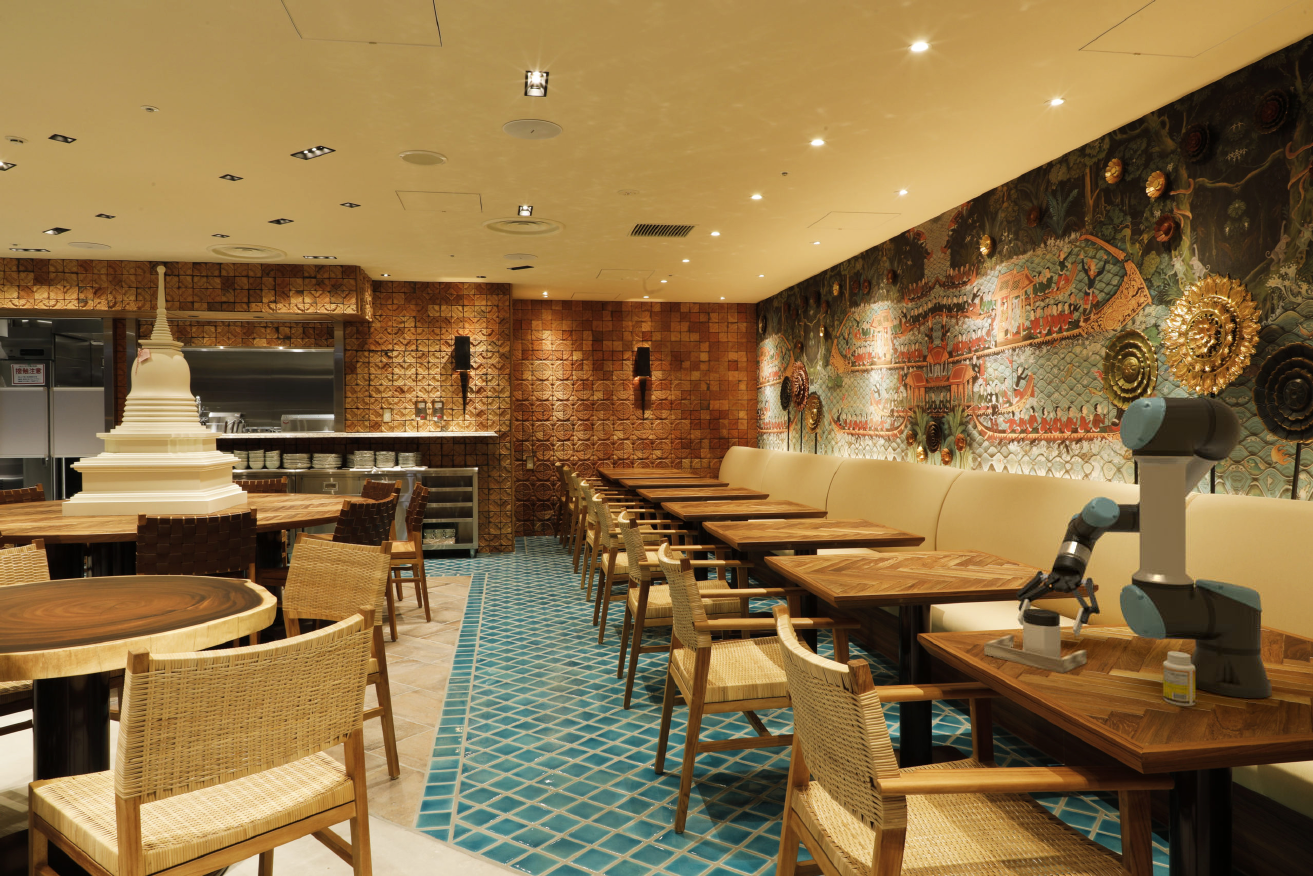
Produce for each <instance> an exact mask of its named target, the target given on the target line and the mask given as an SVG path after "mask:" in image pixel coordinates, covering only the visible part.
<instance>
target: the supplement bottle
mask: <svg viewBox="0 0 1313 876" xmlns="http://www.w3.org/2000/svg"><path fill="white" fill-rule="evenodd" d="M1166 657H1167V659H1166V660H1165V661H1163V664H1162V679H1163V680H1162V683H1163V684H1162V686H1163V687H1162V691H1163V692H1162V694H1163V699H1164V701H1165V702H1167V703H1168V704H1172V705H1174V706H1179V707H1180V706H1181V707H1192V706H1194V705H1196V703H1197V702H1196V700H1197V699H1196V687H1195V666H1194V665H1193V664H1191V658H1192V655H1190V654H1188V653H1186V652H1182V651H1175V650H1174V651H1168V652H1167V656H1166Z"/></svg>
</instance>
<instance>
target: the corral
mask: <svg viewBox="0 0 1313 876" xmlns="http://www.w3.org/2000/svg"><path fill="white" fill-rule="evenodd" d="M1014 637H1015V636H1014V635H1012V634H1008V635H1005V636H1002V637H999V638H997V639H993V640H989V641H986V642H984V646H983V647H984V651H983V652H984V653H983V654H984V656H987V655H988V657H991V656H993V657H992V658H996V659H1000V660H1005V661H1009V662H1013V663H1017V664H1022V665H1026V666H1030V667H1034V668H1039V669H1043V670H1048V671H1052V672H1056V673H1061V674H1064V673H1067V672H1069V671H1071V670H1073V669H1075V668H1078V667H1080V666H1082V665H1084V664H1086V663H1087V650H1086V649H1081V650H1078V651H1075V652H1073V653H1071V654H1068V655H1066V656H1064V657H1060V659H1059V658H1054V657H1050V656H1045V655H1041V654H1036V653H1032V652H1027V651H1023V649H1022V650H1021V649H1016V648H1014ZM1011 647H1012V648H1011Z"/></svg>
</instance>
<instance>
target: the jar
mask: <svg viewBox="0 0 1313 876" xmlns="http://www.w3.org/2000/svg"><path fill="white" fill-rule="evenodd" d="M1023 618H1024V619H1023V625H1022V651H1027V652H1032V653H1036V654H1041V655H1045V656H1050V657H1054V658H1059V659H1061V632H1062V631H1061V630H1062V629H1061V628H1062V627H1061V613H1060V612H1058V611H1055V610H1050V609H1044V608H1030V609H1026V610H1024V614H1023Z"/></svg>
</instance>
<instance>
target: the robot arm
mask: <svg viewBox="0 0 1313 876" xmlns="http://www.w3.org/2000/svg"><path fill="white" fill-rule="evenodd" d="M1120 421H1121V422H1120V425H1119V436H1120V439H1121V443H1122V445H1123V446H1124V447H1125V448H1127V449H1129V450H1131V457H1132V459H1133V460H1135V461H1136V462H1137V464H1138V465H1139V501H1138V502H1137V503H1134V504H1133V503H1130V504H1129V503H1124V504H1123V503H1116V502H1115V501H1114V500H1113V499H1110V498H1108V497H1105V496H1097V497H1095V498H1092V499H1091V500H1090V501H1089V502H1088V503H1087V504H1085V505H1084V507H1083V509H1082V510H1081V511H1080V512H1078V513H1075V514H1074V515H1072V517H1071V519H1070V521H1069V522H1068V524H1067V529H1066V532H1065V535H1064V537H1063V540H1062V543H1061V545H1060V546H1059V550H1058V552H1057V554H1056V557H1055V560H1054V562H1053V565H1052V568H1051V572H1050V573H1049V574H1047V573H1044V572H1043V571H1042V570H1038V571H1037V573H1036V574H1035V576H1034V577H1033V578H1032V579H1031V580H1029V582H1027V583H1025V585H1024V586H1023V587H1022V588H1020V589H1019V590H1018V591H1017V592H1016V593H1015V595H1016V598H1017V599H1018V601H1019V605H1018V611H1019V614H1018V617H1017V621H1018V622H1019V625H1020V626H1023V619H1024V618H1023V614H1024V610H1026V609H1032V604H1031V603H1033V602H1034V601H1037V600H1038V599H1039V598H1041V597H1043V596H1045V595H1047V594H1051V593H1054V592H1057V593H1065V594H1070V593H1072V594H1073V596H1074V597H1075V598H1076V600H1077V602H1078V604H1079V605H1080V606H1081V607H1080V608H1079V609H1078V611H1077V612H1078V613H1077V616H1076V619H1075V621H1074V624H1073V627H1072V632H1073V634H1074V635H1075V636H1077V637H1079V636H1080V634H1081V631H1082V628H1083V625H1087V624H1088V623H1089V619H1090V616H1091V615H1092V614H1096V615H1099V614H1100V613H1101V610H1100V607H1099V605H1098V601H1097V597H1096V594H1095V591H1094V590H1095V583H1094V581H1093V578H1091V577H1087V578H1086V579H1085V578H1084V576H1085V573H1086V571H1087V567H1088V564H1089V561H1090V559H1091V556H1092V554H1093V553H1092V552H1093V551H1094V547H1095V545H1096V543H1097V542H1098V541H1099V540H1100V538H1102V536H1103V535H1104V534H1106V533H1129V534H1130V533H1132V534H1133V533H1134V534H1135V533H1137V534H1139V568H1138V570H1137V571H1136V572H1134V573H1133V574H1132V575H1131V583H1130V584H1127V585H1124V586H1123V587H1122V589H1121V592H1120V593H1119V604H1120V605H1119V606H1120V611H1121V614H1122V617H1123V619H1124V621H1125V623H1126V625H1127V627H1128V628H1129V629H1130V630H1131V631H1132V632H1133V633H1134V634H1135V635H1137V636H1139V637H1141V638H1145V639H1154V640H1155V639H1156V640H1160V641H1162V640H1190V641H1191V640H1193V641H1194V640H1195V642H1194V643H1195V644H1194V646H1195V648H1194V650H1193V653H1192V655H1191V664H1193V665H1194V666H1195V689H1200V690H1202V691H1205V692H1210V693H1214V694H1217V695H1223V696H1228V697H1233V698H1241V699H1242V698H1245V699H1263V698H1268V697H1269V698H1270V697H1271V695H1272V683H1271V680H1270V679H1268V675H1267V672H1266V668H1265V665H1264V663H1263V660H1262V649H1261V648H1262V612H1263V609H1262V601H1261V595H1260V594H1259V592H1258V591H1256V590H1255V589H1254V588H1250V587H1246V586H1242V585H1238V584H1233V583H1228V582H1224V581H1218V580H1211V579H1203V578H1201V579H1199V578H1198V579H1196V580H1194V579H1192V577H1190V576H1189V575H1188V573H1187V571H1186V566H1187V563H1186V561H1187V560H1186V558H1187V555H1186V551H1187V550H1186V548H1187V547H1186V544H1187V543H1186V539H1187V538H1186V536H1187V534H1186V532H1187V531H1186V528H1187V527H1186V526H1187V525H1186V522H1187V521H1186V519H1187V517H1186V515H1187V511H1186V509H1187V508H1186V507H1187V506H1186V505H1187V504H1186V500H1187V499H1186V498H1187V497H1188V496H1189V495H1190V493H1192V491H1193V490H1194V489H1195V488H1196V487H1197V486H1198V484H1200V482H1201V481H1202V480H1203V479H1204V477H1205V476H1206V475H1207V474H1208V473H1209V472H1210V471H1211V470H1212V468H1213V467H1214V466H1215V465H1216V464H1217V462H1219V463H1220V462H1223V461H1225V460H1226V459H1228V458H1229V456H1230V455H1231V454H1232V453H1233V452H1234V451H1235V449H1236V448H1237V447H1238V445H1239V442H1240V440H1241V436H1242V425H1241V420H1240V418H1239V416H1238V414H1237V412H1235V410H1234V409H1233V408H1232V407H1231V406H1230V405H1228V404H1227V403H1225V402H1223V401H1221V400H1218V399H1216V398H1212V397H1204V396H1202V397H1201V396H1199V397H1180V396H1179V397H1178V396H1177V397H1171V396H1170V397H1169V396H1167V397H1166V396H1165V397H1163V396H1161V397H1160V396H1155V397H1142V398H1138V399H1136V400H1134V401H1133V402H1131V403H1130V404H1129V405H1128V407H1127V408H1126V409H1125V411H1124V413H1123V415H1122V418H1121V420H1120ZM1081 586H1084V588H1086V591H1087V594H1088V598H1089V602H1090V604H1091V605H1090V606H1089V604H1088V603H1087V601H1086V600H1085V598H1084V596H1082V594H1081V592H1080V591H1079V589H1078V588H1080V587H1081Z"/></svg>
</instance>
